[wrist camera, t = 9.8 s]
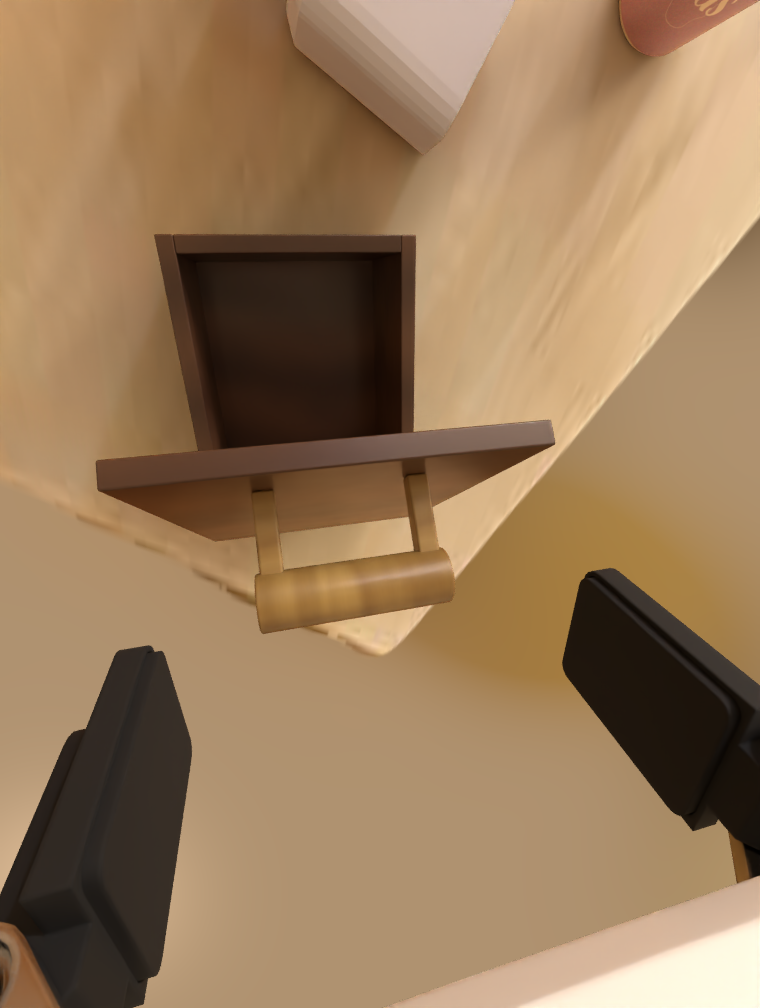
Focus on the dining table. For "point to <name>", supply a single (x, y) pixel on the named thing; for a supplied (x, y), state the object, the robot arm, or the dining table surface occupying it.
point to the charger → (401, 55)
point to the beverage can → (673, 21)
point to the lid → (327, 508)
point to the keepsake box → (293, 334)
